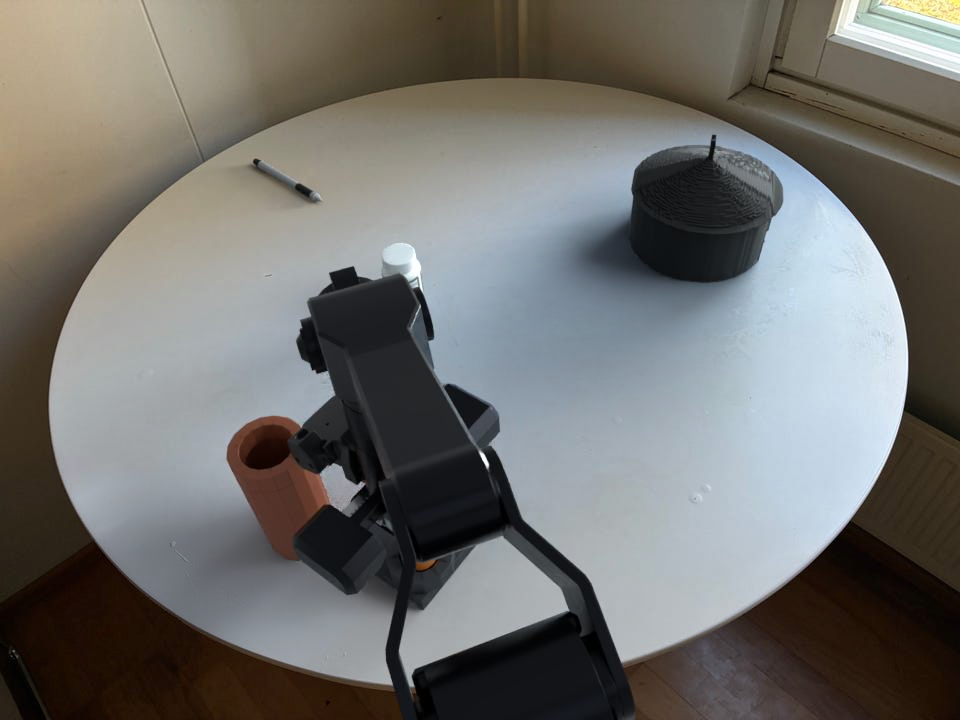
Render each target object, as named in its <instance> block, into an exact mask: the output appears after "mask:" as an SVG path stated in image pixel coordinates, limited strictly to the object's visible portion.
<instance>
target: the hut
mask: <svg viewBox="0 0 960 720" xmlns="http://www.w3.org/2000/svg"><path fill="white" fill-rule="evenodd" d="M716 143H717V134H711V138H710V143H709V145H708V144H706V145H705V144H687V145H686V144H685V145H679V146H678V145H677V146H673V147H669V148H665V149H662V150H659V151H656V152H654V153H652V154H650V155H649V156H647V157H646V158H645V159H643V160H642V161H641V162H640V163H639V164H638V165H637V166H636V167H635V169H634V172H633V177H632V183H631V189H630V191H631V194H632V203H631V210H630V211H631V212H630V222H629V230H628V243H629V245H630V248H631V251H632V252H633V254H634V255H635V256H636V258H637V259H638V260H639V261H640V262H642V263H643V264H644V265H645V266H646V267H647V268H649V269H650V270H652V271H655V272H656V273H658V274H659V275H662V276H665V277H668V278H670V279H673V280H678V281H680V282H681V281H683V282H692V283H702V284H703V283H704V284H705V283H717V282H723V281H728V280H730V279H734V278H736V277H738V276H740V275H742V274H744V273H746V272H748V271H749V270H750V269H751V268H752V267H754V266H755V264H756V263H757V261H759V260H760V257H761V253H762V250H763V248H764V247H763V246H764V244H765V242H766V241H765V240H766V237H767V232H768V231H769V230H770V227H771V223H772V219H773V218H774V217H776V215H778V213H779V211H780V210H781V208H782V206H783V204H784V187H783V184H782V182H781V180H780V178H779V177H778V176H777V174H776V172H775V171H774V170H772V169H771V168H770V166H768V165H767V164H766V163H764V162H763V161H762V160H760V159H758V158H757V157H755V156H752V155H751V154H749V153H744V152H742V151H740V150H735V149H731V148H726V147H723V146H720V145H717V144H716Z"/></svg>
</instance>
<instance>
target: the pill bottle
mask: <svg viewBox="0 0 960 720" xmlns="http://www.w3.org/2000/svg"><path fill="white" fill-rule="evenodd" d="M381 262H382V266H381V278H384V277H387V276H391V275H395V274H398V273H400V274H402V275H404V276H405V277H406V278H407V280H408V282H409V284H410V286H411V288H415V287H418V286H419V288H420V289H421V291H422V293H423V295H424V297H425V300H426V293H425V285H424V279H423V274H422V266H421V263H420V262H419V260H418V259H417V254H416V250H415V248H414V247H413V246H412V245H410V244H408V243H405V242H404V243H403V242H396V243H391V244H390V245H388V246H386V247H384V249H383V250H382V252H381ZM426 301H427V300H426Z"/></svg>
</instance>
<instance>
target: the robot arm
mask: <svg viewBox="0 0 960 720" xmlns="http://www.w3.org/2000/svg"><path fill="white" fill-rule="evenodd" d="M328 275H329V279H330V283H329V284H328V285H327V286H325V287H324V288H323V289H322V290H321V291H320V292H319V293H318V295H315V296H311V297H309V298H308V299H307V301H306V304H307V307H308V311H309V314H310V316H308V317H305V318H302V319H299V322H300V325H301V327H300V328H299V329H298V331H299V334H298V335H297V337H296V339H295V343H296V346H297V351H298V354H299V357H300V359H301V360H302V361H304V362H306V363H308V364H309V366H310V370H311V371H312V372H314V371H315V374H316V375H319V374H323V373H326V372H327V373H328V377H329V380H330V383H331V386H332V389H333V392H334V395H333V396H331V397H330V398H329V399H328V400H327V401H326V402H325V403H324V404H322V406H320V407H319V408H318V410H316V411H315V412H314V413H313V414H312V415H311V416H310V417H308V418H307V419H306V420H305V421H304V422H303V424H302V425H301V429H300V430H299V431H297V432H296V433H295V434H294V435H293V436H292V437H291V438H290V439H289V440H288V441H287V443H288V446H289V450H290V453H291V455H292V456H293V458H294V459H295V461H296V462H297V464H298V465H299V466H300V467H301V468H303V469H305V470H307V471H310V472H312V473H314V474H318V475H319V474H320V475H321V473H322V472H323V471H325V469H326V468H327V467H332V466H333V465H336V466H339V467H341V469H342V472H343V475H344V477H345V479H346V480H348V481H349V482H350V483H352V484H354V485H355V486H358V485H359V484H360V483H363V484H364V485H363V486H362V487H361V488H360V489H359V490H358V491H357V492H356V493H355V494H354V495H353V496H352V498H351V499H350V500H349V503H348V504H347V506H345V507H344V508H343V510H339V509H338V508H337V507H335V506H333V505H332V503H331V504H325V505H323V506H322V507H321V508H320V509H319V510H318V511H317V512H316V513H315V514H314V515H313V516H312V517H311V518H310V519H309V520H308V521H307V522H306V523H305V524H304V525H303V526H302V527H301V528H300V529H299V530H298V531H297V532H296V533H295V535H294V536H293V537H292V542H293V549H294V551H295V554H296V556H297V558H298V559H299V560H298V561H301V562H302V563H303V564H304V565H306V566H307V567H308V568H310V569H311V570H313V572H315V573H317V574H318V575H319V576H320V577H322V578H323V579H325V580H326V581H327V582H328V583H330V584H331V585H332V586H333V587H335V588H336V589H338V590H339V591H340V592H342V593H343V594H344V595H346V596H351V595H358V594H359V593H360V592H361V591H362V589H363V588H364V587H365V586H366V585H367V584H368V583H369V581H370V580H371V579H372V578H373V577H374V576H375V575H374V574H375V573H376V572H377V571H378V570H379V569H380V568H381V566H382V564H383V561H384V559H385V557H386V554H387V553H386V550H385V547H384V546H383V545H382V543H381V542H380V541H379V540H378V539H377V538H376V537H375V536H374V534H372V533H371V532H369V531H368V530H369V528H370V527H371V526H372V525H373V524H374V525H375V526H377V527H378V528H379V529H381V530H382V531H384V532H385V533H387V534H388V535H390V536H391V537H393V538H394V539H395V540H396V543H397V546H398V550H399V553H400V556H401V559H402V562H403V568H402V573H401V578H400V582H399V587H398V591H396V596H395V601H394V607H393V611H392V617H391V620H390V624H389V630H388V635H387V640H386V644H385V652H384V655H385V664H386V666H387V669H388V674H389V676H390V680H391V683H392V687H393V690H394V693H395V697H396V701H397V704H398V707H399V710H400V714H401V718H402V720H635V719H636V712H637V710H636V705H635V700H634V695H633V693H632V689H631V686H630V682H629V679H628V677H627V675H626V672H625V669H624V667H623V664H622V660H621V658H620V656H619V652H618V650H617V647H616V645H615V642H614V639H613V636H612V635H611V631H610V629H609V627H608V624H607V620H606V618H605V615H604V613H603V610H602V608H601V605H600V602H599V599H598V597H597V595H596V591H595V589H594V587H593V584H592V582H591V580H590V579H589V578H588V576H587V575H586V574H585V573H584V571H582V570H581V569H580V568H579V567H578V566H577V565H576V564H574V563H573V562H572V561H571V560H570V559H569V558H567V557H566V556H565V555H564V554H563V553H561V551H559V549H557V548H556V547H555V546H554V545H553V544H551V543H550V542H549V541H548V540H547V539H546V538H545V537H543V536H542V535H541V534H540V533H539V532H538V531H536V530H535V528H534V527H532V526H531V525H530V524H529V523H527V522H526V521H525V520H524V519H523V517H522V514H521V510H520V509H519V505H518V503H517V500H516V497H515V495H514V491H513V489H512V486H511V483H510V481H509V478H508V475H507V472H506V470H505V468H504V466H503V463H502V460H501V458H500V457H499V454H498V453H497V451H496V450H495V448H494V447H493V445H492V444H491V443H492V441H494V439H495V438H496V437H497V436H498V434H500V432H501V423H500V422H501V421H500V419H501V418H500V414H499V412H498V410H497V409H496V407H495V406H494V405H493V404H491V403H490V402H488V401H486V400H484V399H483V398H481V397H479V396H477V395H475V394H473V393H472V392H470V391H468V390H466V389H464V388H463V387H460V386H459V385H457V384H456V383H455V384H454V383H449V382H448V383H444V384H442V382H441V381H440V378H439V377H438V375H437V373H436V372H435V365H434V360H433V355H432V351H431V347H430V346H431V345H430V341H434V340H435V329H434V323H433V319H432V316H431V312H430V309H429V306H428V303H427V300H425V299H426V296H425V297H424V295H423V293H422V291H421V289H420V288H419V286H418V287H415V288H411V286H410V284H409V282H408V280H407V278H406V277H405V276H404V275H402V274H400V273H398V274H395V275H391V276H387V277H384V278H382V277H381V278H377V279H372V278H369V277H364V276H359V275H358V273H357V271H356V268H355V266H354V265H352V266H348V267H344V268H341V269H337V270H333V271H329V272H328ZM501 537H503V539H504V540H506V541H507V542H508V543H509V544H510V545H512V547H513V548H515V549H516V550H517V551H518V552H519V553H520V554H521V555H522V556H524V557H525V558H526V559H527V560H528V561H529V562H530V563H532V565H534V566H535V567H536V568H537V569H538V570H540V572H542V573H543V574H544V575H545V576H546V577H547V578H548V579H550V580H551V581H552V582H553V583H554V584H555V585H557V587H559V589H560V590H561V592H562V595H563V598H564V600H565V601H564V602H565V603H566V606H567V609H568V610H565V611H563V612H560V613H557V614H555V615H551V616H550V617H548V618H545V619H542V620H540V621H537V622H534V623H531V624H529V625H527V626H524V627H520V628H519V629H516V630H513V631H510V632H508V633H505V634H502V635H499V636H497V637H495V638H492V639H489V640H487V641H484V642H482V643H479V644H476V645H474V646H472V647H469V648H466V649H463V650H461V651H457V652H455V653H452V654H450V655H447V656H445V657H442V658H439V659H437V660H434V661H432V662H428V663H426V664H424V665H422V666H419V667H416V668H414V669H413V672H412V674H411V681H412V683H413V687H414V690H415V694H416V696H417V699H418V700H415V699H414V696H413V693H412V690H411V687H410V686H411V685H410V683H409V679H408V676H407V672H406V669H405V667H404V663H403V659H402V655H401V653H400V648H401V643H402V637H403V632H404V629H405V628H404V627H405V623H406V619H407V613H408V609H409V604H410V600H409V599H410V595H411V590H412V585H413V580H414V575H415V570H416V561H417V562H419V563H421V564H425V563H428V562H430V561H433V560H436V559H439V558H442V557H445V556H447V555H450V554H453V553H456V552H459V551H461V550H464V549H467V548H470V547H473V546H475V547H476V546H479V545H481V544H484V543H487V542H490V541H492V540H496V539H498V538H501Z"/></svg>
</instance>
